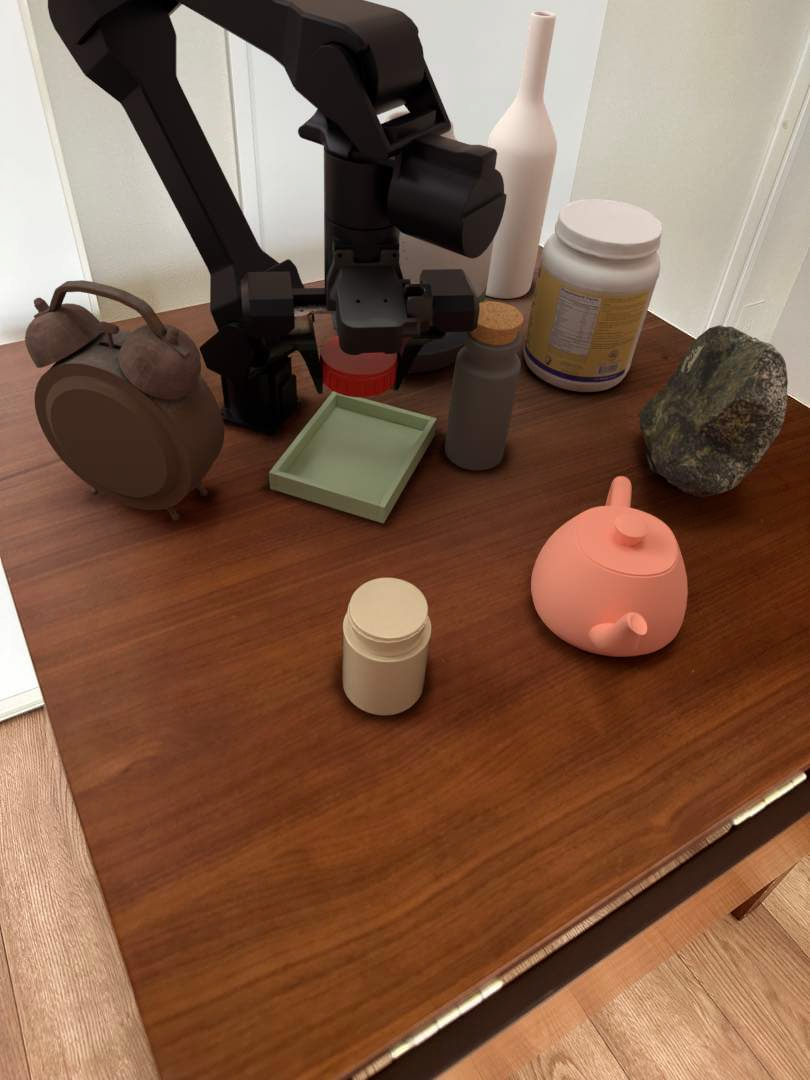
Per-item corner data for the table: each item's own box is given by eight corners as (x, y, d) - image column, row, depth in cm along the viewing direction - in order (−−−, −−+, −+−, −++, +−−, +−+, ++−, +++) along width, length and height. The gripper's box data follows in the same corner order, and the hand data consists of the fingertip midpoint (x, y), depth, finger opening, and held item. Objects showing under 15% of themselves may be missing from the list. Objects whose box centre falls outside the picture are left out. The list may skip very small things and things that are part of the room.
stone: (630, 424, 81) (675, 292, 71) (730, 442, 80) (791, 310, 70) (629, 516, 71) (680, 379, 61) (743, 538, 70) (816, 402, 60)
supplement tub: (539, 327, 94) (569, 185, 82) (638, 355, 91) (683, 212, 79) (506, 376, 86) (533, 227, 74) (612, 409, 83) (658, 258, 71)
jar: (329, 699, 56) (328, 625, 50) (361, 637, 60) (364, 562, 54) (407, 727, 54) (416, 655, 48) (434, 662, 58) (446, 588, 52)
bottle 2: (533, 275, 104) (585, 10, 82) (526, 304, 98) (579, 27, 77) (474, 265, 105) (510, 0, 83) (463, 293, 99) (499, 16, 78)
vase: (388, 295, 97) (399, 82, 80) (503, 344, 91) (542, 122, 74) (299, 350, 87) (290, 118, 70) (421, 408, 81) (443, 169, 64)
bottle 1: (499, 476, 74) (527, 337, 64) (439, 465, 75) (457, 325, 64) (506, 439, 78) (533, 303, 68) (449, 429, 79) (467, 292, 68)
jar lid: (408, 368, 69) (410, 345, 68) (376, 407, 65) (378, 383, 63) (341, 347, 71) (341, 324, 69) (305, 383, 66) (305, 360, 65)
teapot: (667, 548, 69) (703, 466, 62) (687, 723, 56) (735, 643, 49) (531, 527, 69) (552, 443, 63) (521, 694, 57) (546, 612, 50)
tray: (269, 488, 71) (268, 472, 69) (333, 406, 80) (333, 389, 79) (383, 523, 69) (384, 507, 67) (435, 434, 78) (437, 418, 77)
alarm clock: (242, 489, 70) (219, 284, 56) (201, 542, 66) (164, 331, 51) (103, 449, 73) (48, 243, 59) (55, 496, 68) (-19, 284, 54)
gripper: (236, 266, 51) (253, 453, 62) (511, 263, 54) (480, 441, 65) (233, 197, 58) (249, 374, 69) (474, 197, 61) (452, 366, 72)
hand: (357, 389), depth 69 cm, fingers closed on jar lid, 6 cm apart
